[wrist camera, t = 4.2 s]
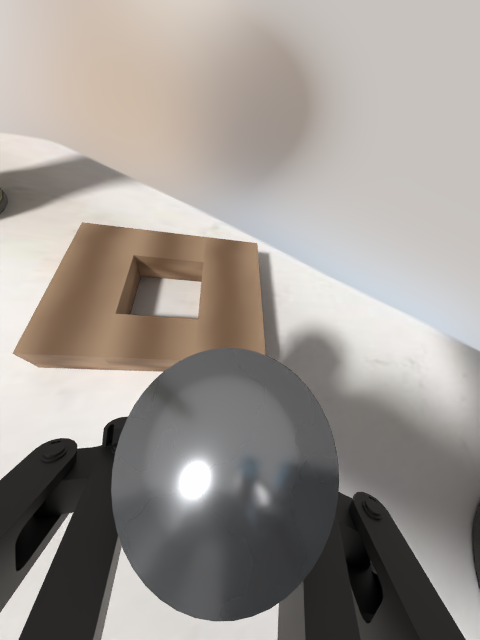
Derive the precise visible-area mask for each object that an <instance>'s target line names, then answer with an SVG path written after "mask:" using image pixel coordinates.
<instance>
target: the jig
mask: <svg viewBox="0 0 480 640" xmlns="http://www.w3.org/2000/svg"><path fill="white" fill-rule="evenodd" d="M140 276H146V277H157V278H168V279H179V280H190V281H201V282H202V283H201V294H200V304H199V315H198V319H188V318H173V317H158V316H143V315H130V313H131V309H132V306H133V302H134V298H135V295H136V291H137V287H138V284H139V280H140ZM218 348H239V349H246V350H251V351H255V352H258V353H261V354H263V355H266V352H265V339H264V326H263V313H262V300H261V287H260V274H259V261H258V248H257V243H251V242H242V241H234V240H225V239H217V238H208V237H200V236H192V235H183V234H175V233H166V232H158V231H149V230H141V229H133V228H124V227H116V226H107V225H99V224H90V223H82V224H81V225H80V227H79V229H78V231H77V233H76V235H75V237H74V239H73V240H72V242H71V244H70V246H69V248H68V250H67V252H66V254H65V256H64V257H63V259H62V261H61V263H60V265H59V267H58V269H57V271H56V273H55V274H54V276H53V278H52V280H51V282H50V284H49V286H48V288H47V289H46V291H45V293H44V295H43V297H42V299H41V301H40V303H39V305H38V306H37V308H36V310H35V312H34V314H33V316H32V318H31V320H30V322H29V323H28V325H27V327H26V329H25V331H24V333H23V335H22V337H21V338H20V340H19V342H18V344H17V346H16V348H15V350H14V352H13V354H15V355H17V356H18V357H20V358H22V359H24V360H26V361H28V362H30V363H32V364H34V365H36V366H37V367H43V368H74V369H104V370H135V371H165V370H167V369H168V368H170V367H171V366H173V365H174V364H175V363H177V362H179V361H181V360H183V359H185V358H186V357H189V356H191V355H194V354H196V353H199V352H203V351H207V350H211V349H218Z"/></svg>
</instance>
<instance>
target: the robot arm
mask: <svg viewBox="0 0 480 640" xmlns="http://www.w3.org/2000/svg"><path fill="white" fill-rule="evenodd" d="M127 418H128V417H121V418H117V419H114V420H112V421H111V422H109V423H108V424H107V425H106V426H105V428H104V432H103V443H102V445H101V446H98V447H92V448H80V449H77V444H76V443H75V441H73V440H71V439H67V438H60V439H55V440H51V441H48V442H46V443H44V444H42V445H40V446H39V447H38V448H36V449H35V450H34V451H33V452H31V453H30V454H29V455H28V456H27V457H26V458H25V459H24V460H22V461H21V462H20V463H19V464H18V465H17V466H16V467H15V468H13V469H12V470H11V471H10V472H9V473H8V474H7V475H6V476H4V477H3V478H2V479H1V480H0V612H1V611H2V609H3V608H4V606H5V605H6V603H7V602H8V601H9V599H10V598H11V596H12V595H13V593H14V592H15V590H16V589H17V588H18V586H19V585H20V583H21V582H22V580H23V579H24V578H25V576H26V575H27V573H28V572H29V570H30V569H31V567H32V566H33V565H34V563H35V562H36V560H37V559H38V557H39V556H40V555H41V553H42V552H43V550H44V549H45V547H46V546H47V544H48V543H49V542H50V540H51V539H52V537H53V536H54V534H55V533H56V532H57V530H58V529H59V527H60V526H61V524H62V523H63V521H64V520H65V519H66V517H67V516H68V514H69V513H73V512H74V513H73V515H72V517H71V520H70V522H69V524H68V527H67V529H66V531H65V534H64V536H63V538H62V541H61V543H60V545H59V548H58V550H57V552H56V554H55V557H54V559H53V561H52V564H51V566H50V568H49V571H48V573H47V575H46V578H45V580H44V582H43V585H42V587H41V589H40V591H39V594H38V596H37V598H36V601H35V603H34V605H33V608H32V610H31V612H30V615H29V617H28V619H27V622H26V624H25V626H24V628H23V631H22V633H21V635H20V638H19V640H101V637H102V632H103V628H104V623H105V619H106V614H107V610H108V605H109V601H110V596H111V591H112V587H113V582H114V578H115V573H116V569H117V564H118V560H119V555H120V551H121V546H122V545H121V542H120V539H119V536H118V533H117V530H116V525H115V520H114V515H113V508H112V494H111V486H112V469H113V463H114V458H115V452H116V448H117V445H118V442H119V438H120V435H121V432H122V430H123V427H124V425H125V423H126V420H127ZM474 556H475V564H476V570H477V576H478V580H479V585H480V504H479V506H478V510H477V513H476V518H475V524H474ZM278 640H465V638H464V636H463V635H462V633H461V631H460V630H459V628H458V626H457V625H456V623H455V621H454V620H453V618H452V616H451V615H450V613H449V611H448V610H447V608H446V607H445V605H444V603H443V602H442V600H441V598H440V597H439V595H438V593H437V592H436V590H435V588H434V587H433V585H432V583H431V582H430V580H429V578H428V577H427V575H426V574H425V572H424V570H423V569H422V567H421V565H420V564H419V562H418V560H417V559H416V557H415V555H414V554H413V552H412V550H411V549H410V547H409V545H408V544H407V542H406V540H405V539H404V537H403V536H402V534H401V532H400V531H399V529H398V527H397V526H396V524H395V522H394V521H393V519H392V517H391V516H390V514H389V512H388V511H387V510H386V508H385V507H384V506H383V505H382V504H381V503H380V502H379V501H378V500H377V499H376V498H374V497H373V496H371V495H369V494H367V493H364V492H357V493H356V494H354V496H353V498H350V497H348V496H346V495H344V494H342V493H340V492H338V501H337V507H336V513H335V518H334V521H333V525H332V528H331V532H330V535H329V537H328V540H327V542H326V544H325V547H324V549H323V552H322V553H321V555H320V557H319V559H318V560H317V562H316V564H315V565H314V567H313V569H312V570H311V571H310V573H309V574H308V575H307V577H306V578H305V579H304V580H303V582H302V583H301V584H300V585H299V586H298V587H297V588H296V589H295V590H294V591H293V592H292V593H291V594H290V595H289V596H287V597H286V598H285V599H284V600H282V601H281V602H279V617H278Z"/></svg>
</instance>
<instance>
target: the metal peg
mask: <svg viewBox="0 0 480 640" xmlns="http://www.w3.org/2000/svg"><path fill="white" fill-rule="evenodd" d="M338 488H339V472H338V460H337V453H336V447H335V443H334V439H333V436H332V432H331V429H330V427H329V424H328V421H327V419H326V417H325V415H324V412H323V410H322V408H321V406H320V405H319V403H318V402H317V400H316V398H315V397H314V395H313V394H312V392H311V391H310V390H309V389H308V387H307V386H306V385H305V384H304V383H303V382H302V381H301V380H300V378H299V377H298V376H297V375H295V374H294V373H293V372H292V371H291V370H289V369H288V368H287V367H286V366H284V365H282V364H281V363H279V362H278V361H276V360H274V359H272V358H270V357H268V356H266V355H263V354H261V353H258V352H255V351H251V350H246V349H239V348H218V349H211V350H207V351H203V352H199V353H196V354H194V355H191V356H189V357H186V358H185V359H183V360H181V361H179V362H177V363H175V364H174V365H173V366H171V367H170V368H168V369H167V370H165V371H164V372H163V373H162V374H161V375H160V376H159V377H157V378H156V379H155V380H154V381H153V382H152V383H151V384H150V386H149V387H148V388H147V389H146V390H145V391H144V392H143V394H142V395H141V397H140V398H139V400H138V401H137V402H136V404H135V405H134V407H133V409H132V411H131V413H130V414H129V416H128V418H127V420H126V423H125V425H124V427H123V430H122V432H121V435H120V438H119V442H118V445H117V448H116V452H115V458H114V463H113V469H112V486H111V494H112V508H113V515H114V520H115V525H116V530H117V533H118V536H119V539H120V542H121V545H122V547H123V550H124V552H125V554H126V556H127V558H128V560H129V562H130V564H131V566H132V568H133V569H134V571H135V572H136V573H137V575H138V576H139V578H140V579H141V580H142V582H143V583H144V584H145V586H146V587H147V588H149V589H150V590H151V591H152V592H153V593H154V594H155V595H156V596H157V597H158V598H159V599H160V600H162V601H163V602H165V603H166V604H168V605H169V606H171V607H172V608H174V609H175V610H177V611H179V612H182V613H184V614H187V615H189V616H192V617H194V618H199V619H204V620H210V621H235V620H239V619H243V618H248V617H252V616H254V615H257V614H259V613H261V612H264V611H266V610H268V609H270V608H272V607H273V606H275V605H276V604H278V603H279V602H281V601H282V600H284V599H285V598H286V597H287V596H289V595H290V594H291V593H292V592H293V591H294V590H295V589H296V588H297V587H298V586H299V585H300V584H301V583H302V582H303V580H304V579H305V578H306V577H307V575H308V574H309V573H310V571H311V570H312V569H313V567H314V565H315V564H316V562H317V560H318V559H319V557H320V555H321V553H322V552H323V549H324V547H325V544H326V542H327V540H328V537H329V535H330V532H331V528H332V525H333V521H334V518H335V513H336V507H337V501H338Z"/></svg>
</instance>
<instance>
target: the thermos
mask: <svg viewBox="0 0 480 640" xmlns="http://www.w3.org/2000/svg"><path fill="white" fill-rule="evenodd" d="M6 205H7V196H6V195H5V193H4V192H3V191H2V190H1V189H0V213H1V212H2V211H3V210H4V209H5V207H6Z"/></svg>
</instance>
